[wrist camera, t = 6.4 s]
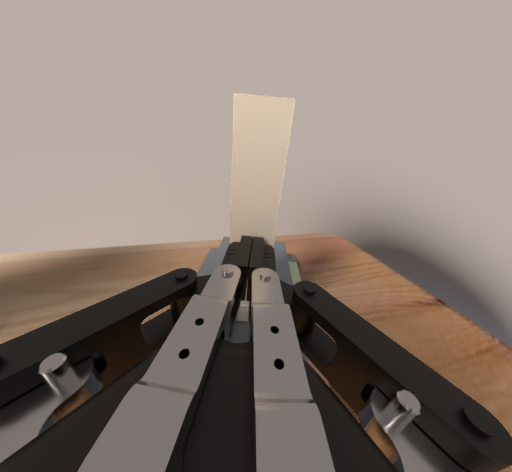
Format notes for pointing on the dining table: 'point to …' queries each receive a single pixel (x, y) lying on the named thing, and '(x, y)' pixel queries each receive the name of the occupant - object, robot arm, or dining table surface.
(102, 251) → the dining table surface
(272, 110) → the cream rectangular bar
